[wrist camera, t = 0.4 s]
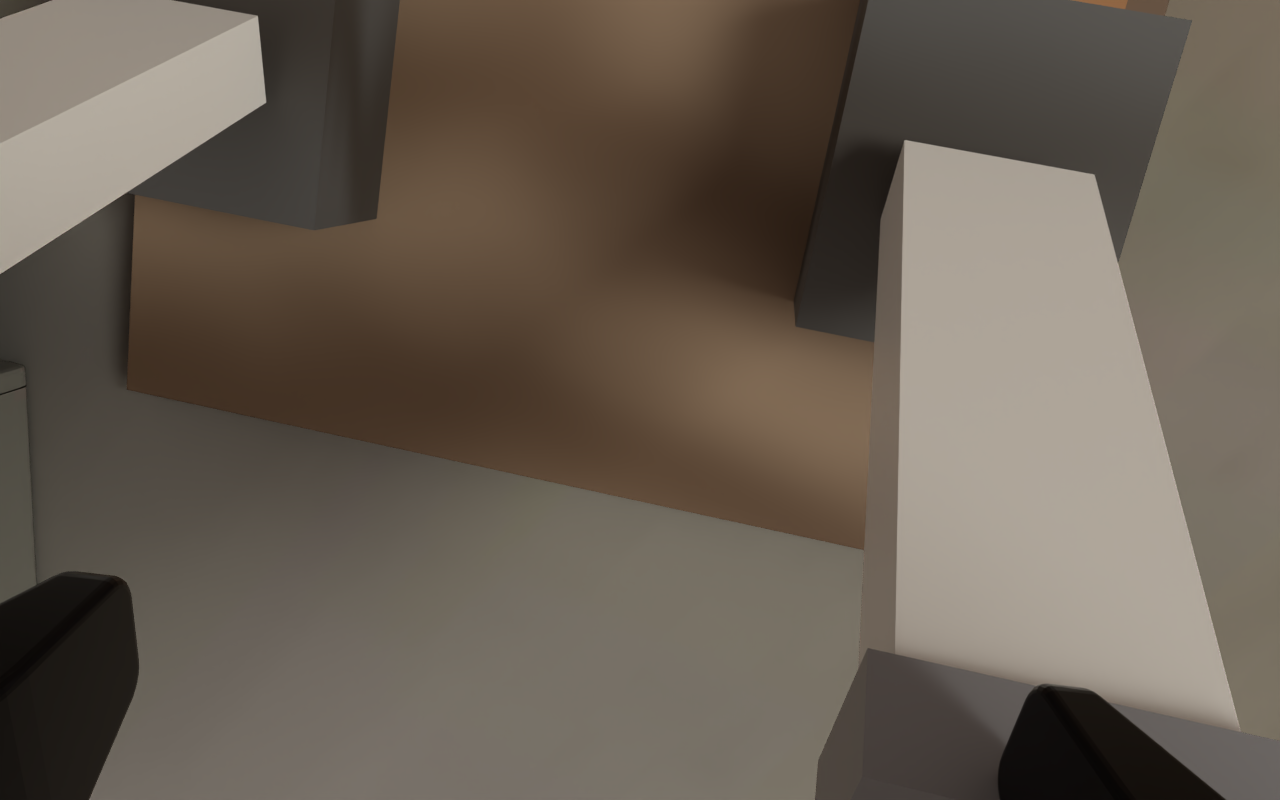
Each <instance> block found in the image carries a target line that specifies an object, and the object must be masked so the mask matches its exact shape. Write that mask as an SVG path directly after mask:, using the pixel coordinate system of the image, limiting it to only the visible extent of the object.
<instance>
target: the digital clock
mask: <svg viewBox="0 0 1280 800" xmlns="http://www.w3.org/2000/svg"><path fill="white" fill-rule="evenodd" d="M35 585H37V582H36V564H35V545H34V526H33V507H32V488H31V469H30V450H29V431H28V412H27V393H26V374H25V367H24V366H23V365H20V364H17V363H13V362H7V361H0V603H2V602H4V601H5V600H7V599H9V598H11V597H13V596H15V595H17V594H19V593H21V592H23V591H25V590H27V589H29V588H31V587H33V586H35Z"/></svg>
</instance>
